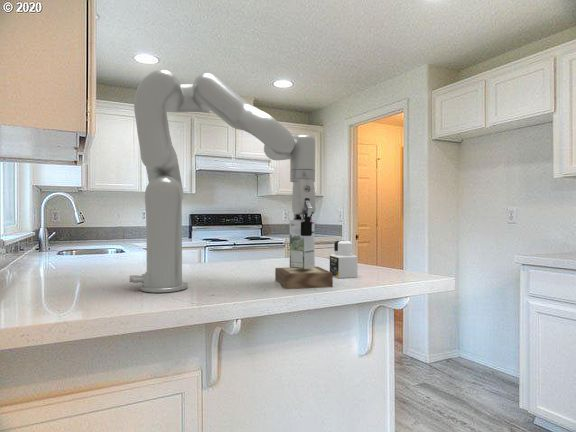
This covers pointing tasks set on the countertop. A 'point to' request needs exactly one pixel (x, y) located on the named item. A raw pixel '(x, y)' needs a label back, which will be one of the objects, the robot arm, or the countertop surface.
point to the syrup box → (301, 246)
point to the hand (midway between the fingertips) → (302, 234)
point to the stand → (303, 277)
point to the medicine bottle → (343, 260)
